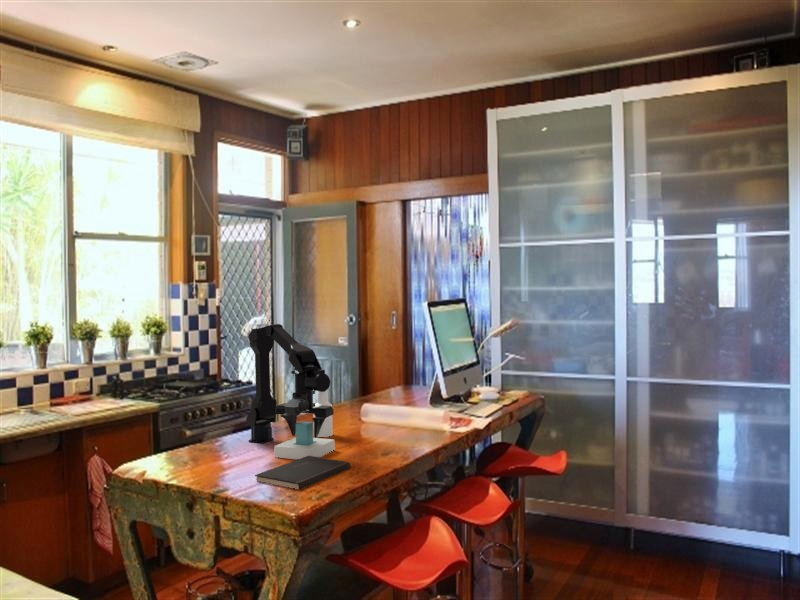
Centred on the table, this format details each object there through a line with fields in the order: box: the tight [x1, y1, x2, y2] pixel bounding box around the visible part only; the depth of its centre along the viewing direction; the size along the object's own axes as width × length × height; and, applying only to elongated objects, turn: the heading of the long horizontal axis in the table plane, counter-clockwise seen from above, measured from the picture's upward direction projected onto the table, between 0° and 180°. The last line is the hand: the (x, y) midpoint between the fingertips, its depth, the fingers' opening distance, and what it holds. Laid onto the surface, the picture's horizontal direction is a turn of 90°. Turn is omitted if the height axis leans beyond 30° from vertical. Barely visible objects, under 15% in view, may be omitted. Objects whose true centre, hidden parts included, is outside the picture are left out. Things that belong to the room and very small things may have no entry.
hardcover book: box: [254, 456, 351, 490], centre depth 181 cm, size 16×23×2 cm
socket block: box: [273, 436, 336, 460], centre depth 204 cm, size 14×14×4 cm
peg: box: [295, 420, 314, 446], centre depth 204 cm, size 4×4×10 cm
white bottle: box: [312, 389, 334, 438], centre depth 229 cm, size 7×7×18 cm
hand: (304, 436), depth 204 cm, fingers open, 8 cm apart
